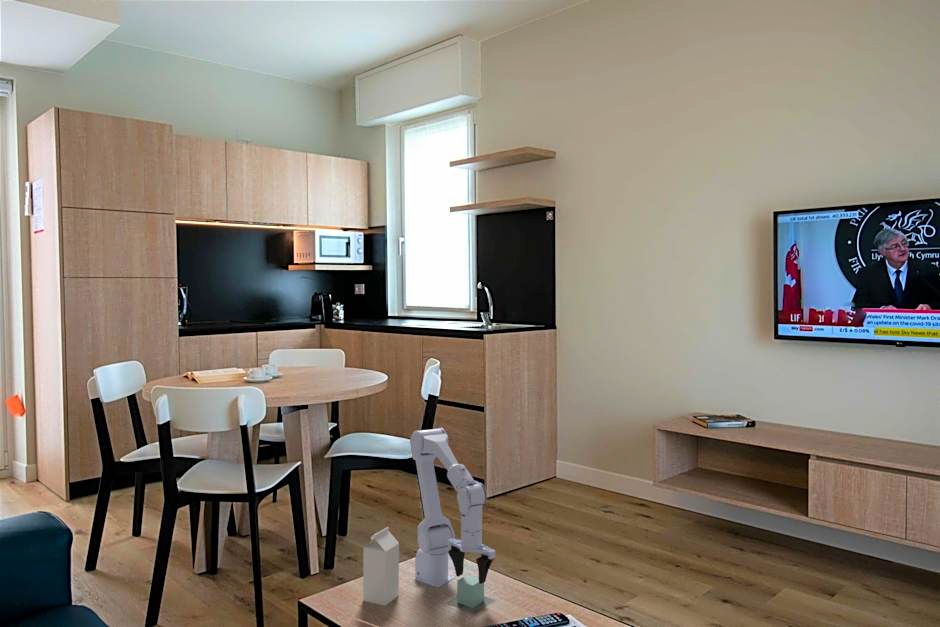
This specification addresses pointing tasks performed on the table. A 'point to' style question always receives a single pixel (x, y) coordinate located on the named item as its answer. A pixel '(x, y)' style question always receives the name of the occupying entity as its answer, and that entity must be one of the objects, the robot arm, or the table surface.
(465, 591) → the mint green cube
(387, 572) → the milk carton
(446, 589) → the table surface
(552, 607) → the table surface
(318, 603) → the table surface
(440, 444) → the robot arm
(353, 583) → the table surface
